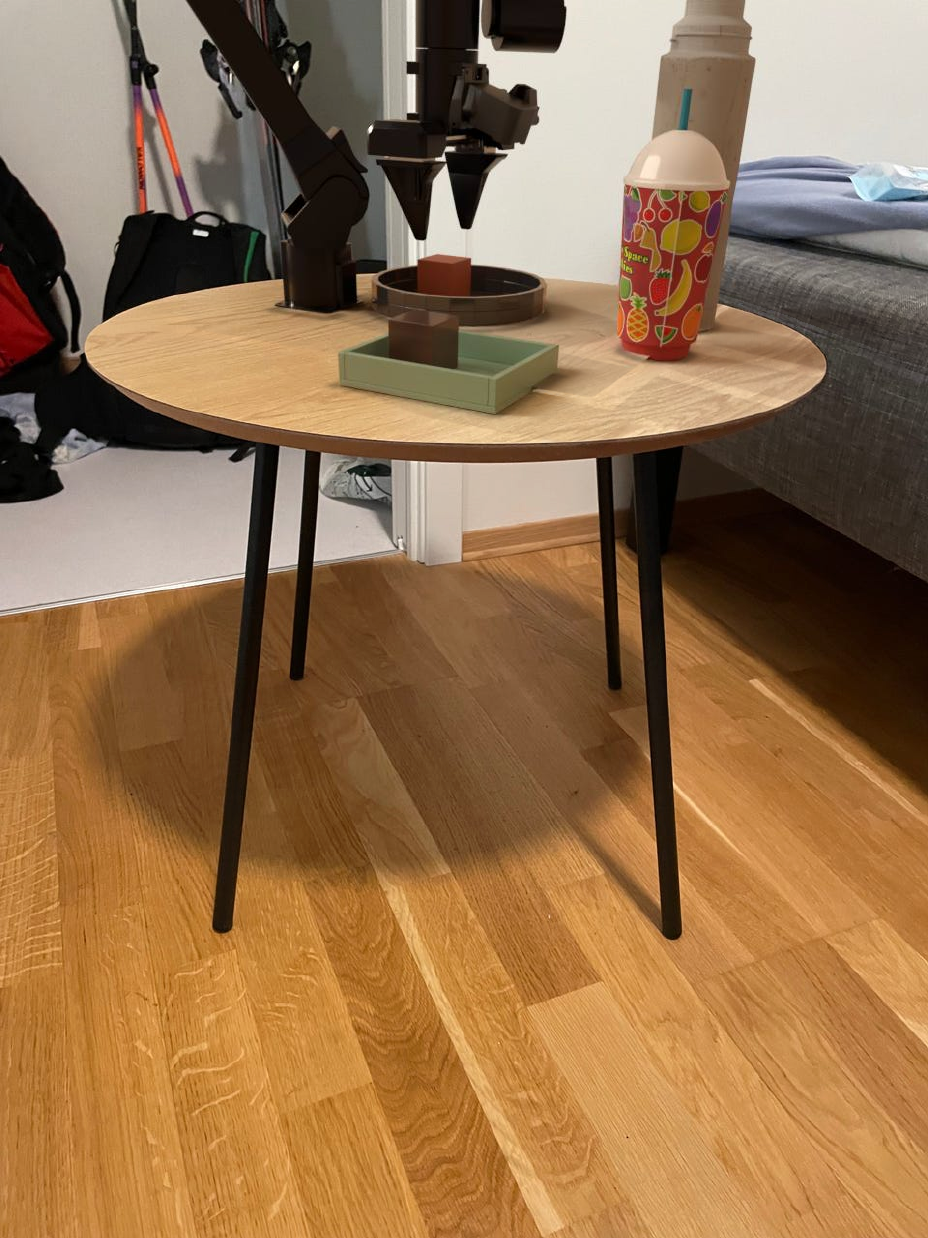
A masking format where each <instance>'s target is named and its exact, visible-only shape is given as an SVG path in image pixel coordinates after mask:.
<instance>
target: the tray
mask: <svg viewBox="0 0 928 1238" xmlns="http://www.w3.org/2000/svg"><path fill="white" fill-rule="evenodd" d="M559 349H560V345H559V344H555V343H548V342H543V341H542V342H541V341H536V340H530V339H523V338H516V337H509V336H504V335H497V334H489V333H483V332H476V331H469V330H463V329H459V338H458V367H457V368H455V369H448V368H442V367H436V366H430V365H424V364H418V363H413V362H407V361H401V360H395V359H389V340H388V332H387V333H384V334H382V335H379V336H376V337H374V338H372V339H369V340H366V341H364V342H360V343H358V344H355V345H352V346H351V347H348V348H346V349H343V350H341V351H338V352H337V362H338V384H339V386H343V387H349V388H353V389H359V390H364V391H368V392H369V391H370V392H376V393H380V394H386V395H390V396H397V397H401V398H407V399H413V400H417V401H422V402H428V403H433V404H439V405H445V406H450V407H453V408H454V407H455V408H460V409H465V410H470V411H477V412H480V413H481V412H482V413H485V414H492V415H497V414H498V413H500V412H501V411H503V410H504V409H506V408H508V407H509V406H511V405H513V404H514V403H516V402H517V401H519V400H521V399H522V398H524V397H526V396H527V395H529V394H530V393H532V392H533V391H535V390H537V389H538V387H535V385H537V384H538V383H540V382H542V381H543V380H545V379H547V378H548V377H550V376H551V375H553V374H555V373H557V372H558V363H559V351H560V350H559Z"/></svg>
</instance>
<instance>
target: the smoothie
mask: <svg viewBox="0 0 928 1238" xmlns="http://www.w3.org/2000/svg"><path fill="white" fill-rule="evenodd" d="M692 90H693V89H684V93H683V100H682V108H681V116H680V124H679V129H674V130H671V131H668V132H665V133H663V134H661V135H659V136H657V137H655V138H654V139H653V140H652V139H651V140H650V141H648V143H646V144H645V146H644V147H643V148H641V149H640V151H639V153H638V154H637V155H636V157H635V159H634V161H633V163H632V165H631V167H630V168H629V172H628V173H627V174H626V175H625V176H624V177H623V180H622V181H623V184H624V186H623V197H622V198H623V202H622V222H621V239H620V240H621V243H620V265H619V283H618V304H617V305H618V307H617V324H616V325H617V329H616V336H617V337H618V338H619V339H620V342H621V343H620V344H621V347H622V349H623V350H624V351H627V352H629V353H633V354H636V355H641V356H642V355H643V356H648V357H646V358H645V360H646V361H656V362H667V361H668V362H669V361H678V360H681V359H683V358H685V357H687V356H688V355H689V352H690V349H691V345H692V344H694V343H696V342H697V339H698V335H699V332H698V330H699V325H700V321H701V316H702V311H703V306H704V302H705V297H706V292H707V288H708V283H709V278H710V273H711V269H712V264H713V259H714V254H715V250H716V245H717V240H718V235H719V231H720V226H721V221H722V217H723V212H724V207H725V202H726V197H727V191H728V189H729V186H730V181H729V180H727V178H726V173H725V168H724V164H723V160H722V158H721V156H720V153H719V151H718V150H717V148H716V147H715V145H714V144H713V143H712V142H711V141H710V140H709V139H707V138H706V137H705V136H703V135H701V134H699V133H698V132H695V131H693V130H687V129H688V121H689V113H690V105H691V98H692Z"/></svg>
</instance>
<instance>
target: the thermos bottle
mask: <svg viewBox="0 0 928 1238" xmlns="http://www.w3.org/2000/svg"><path fill="white" fill-rule="evenodd" d="M745 6H746V0H685V8H684V15H683V17H682V18H681V19H680V20H678V21H677V22H675V23H674V24H673V25H672V29H671V38H669V40H668V41H669V42H670V47H669V51H668V52H667V53H665V54H662V55H661V57H660V61H659V62H660V63H659V71H658V81H657V87H656V97H655V107H654V115H653V123H652V131H651V132H652V134H651V140H653V139H654V138H655V137H657V136H659V135H661V134H663V133H665V132H668V131H671V130H674V129H679V124H680V116H681V108H682V100H683V93H684V89H693V90H692V98H691V105H690V113H689V121H688V129H687V130H693V131H695V132H698V133H699V134H701V135H703V136H705V137H706V138H707V139H709V140H710V141H711V142H712V143H713V144H714V145H715V147H716V148H717V150H718V151H719V153H720V156H721V158H722V160H723V164H724V168H725V173H726V178H727V180H729V181H730V186H729V189H728V191H727V197H726V202H725V207H724V212H723V217H722V221H721V226H720V231H719V235H718V240H717V245H716V250H715V254H714V259H713V264H712V269H711V273H710V278H709V283H708V288H707V292H706V297H705V302H704V306H703V311H702V316H701V321H700V325H699V330H698V333H699V332H705V331H708V330H711V329H713V328H714V327H715V322H716V317H717V309H718V304H719V297H720V291H721V285H722V284H721V283H722V277H723V272H724V266H725V259H726V252H727V245H728V239H729V233H730V226H731V216H732V215H731V214H732V207H733V201H734V196H735V190H736V187H737V181H738V176H739V169H740V162H741V157H742V151H743V144H744V137H745V132H746V124H747V118H748V111H749V105H750V100H751V99H750V98H751V94H752V86H753V80H754V74H755V67H756V60H757V59H756V57H754V56H753V55H751V54H750V53H749V51H750V44H751V41H752V40H753V36H752V32H753V31H752V30H753V27H752V25H751V24H750V23H748V22H747V20H746V19H745V18H744V14H745V9H746V7H745Z"/></svg>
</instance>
